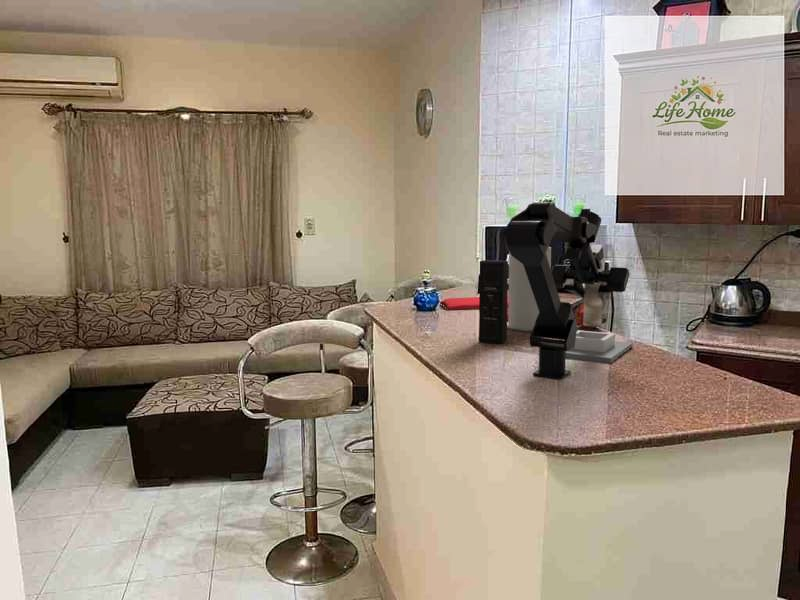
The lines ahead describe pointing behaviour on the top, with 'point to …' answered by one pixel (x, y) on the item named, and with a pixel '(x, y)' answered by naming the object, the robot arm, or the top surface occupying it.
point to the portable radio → (493, 301)
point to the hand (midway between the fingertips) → (594, 298)
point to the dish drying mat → (463, 303)
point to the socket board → (597, 347)
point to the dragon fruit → (580, 314)
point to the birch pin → (592, 305)
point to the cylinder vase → (521, 296)
